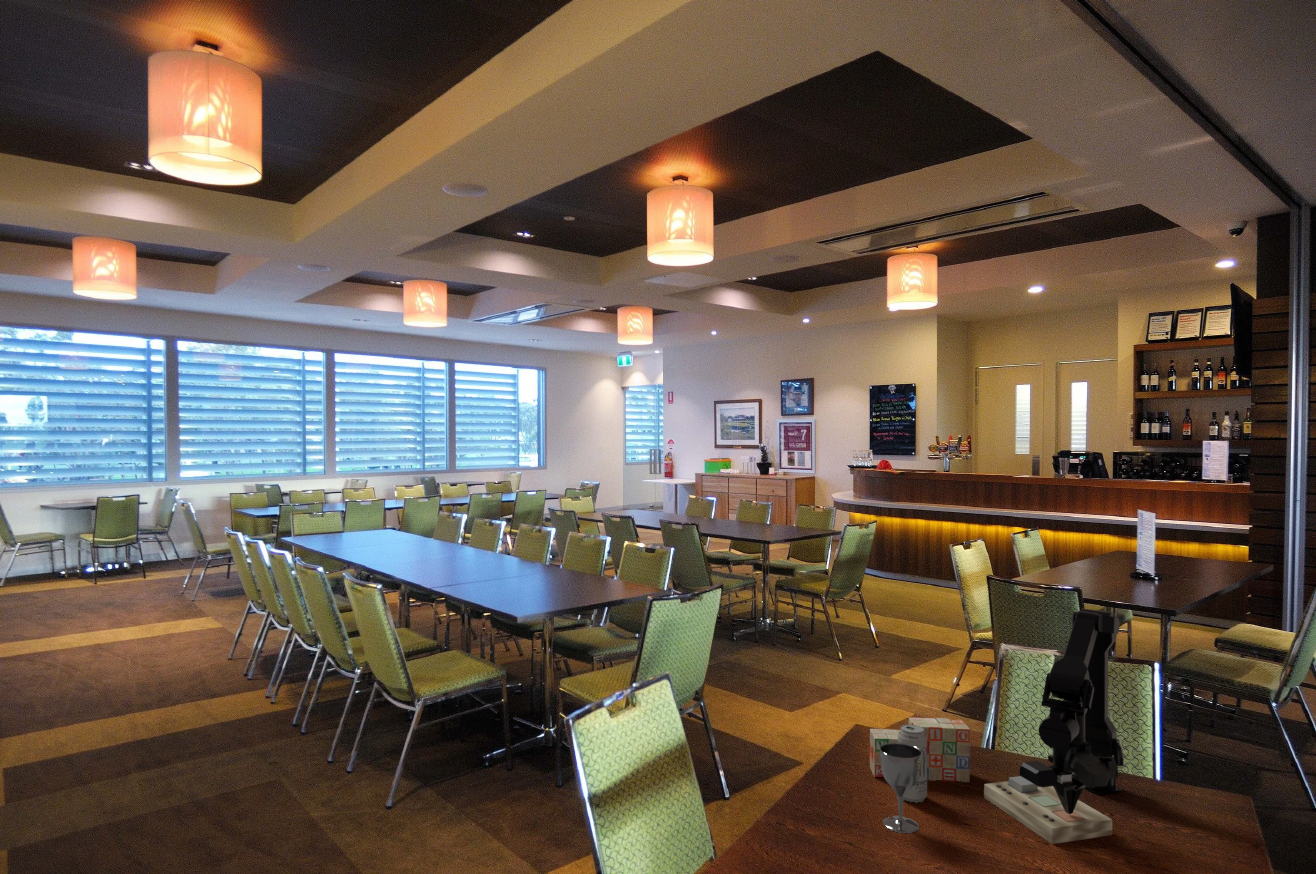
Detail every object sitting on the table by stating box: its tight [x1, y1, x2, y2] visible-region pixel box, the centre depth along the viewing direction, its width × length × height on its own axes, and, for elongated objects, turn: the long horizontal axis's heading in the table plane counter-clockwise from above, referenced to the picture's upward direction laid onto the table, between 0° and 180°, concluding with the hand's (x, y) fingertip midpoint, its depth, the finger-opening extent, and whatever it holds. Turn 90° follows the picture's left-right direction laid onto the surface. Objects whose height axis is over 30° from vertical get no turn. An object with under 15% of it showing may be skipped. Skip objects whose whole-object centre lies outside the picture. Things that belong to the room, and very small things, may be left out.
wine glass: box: [880, 743, 921, 834], centre depth 158 cm, size 8×8×15 cm
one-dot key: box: [1030, 796, 1060, 807], centre depth 162 cm, size 4×4×2 cm
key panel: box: [983, 780, 1113, 845], centre depth 162 cm, size 14×20×3 cm
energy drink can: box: [898, 723, 928, 804], centre depth 170 cm, size 6×6×15 cm
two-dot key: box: [1053, 810, 1085, 822], centre depth 156 cm, size 4×4×2 cm
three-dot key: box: [1008, 775, 1038, 793], centre depth 168 cm, size 4×4×2 cm
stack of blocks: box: [869, 717, 971, 783], centre depth 182 cm, size 21×6×12 cm, turn 85°
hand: (1068, 813), depth 156 cm, fingers closed
